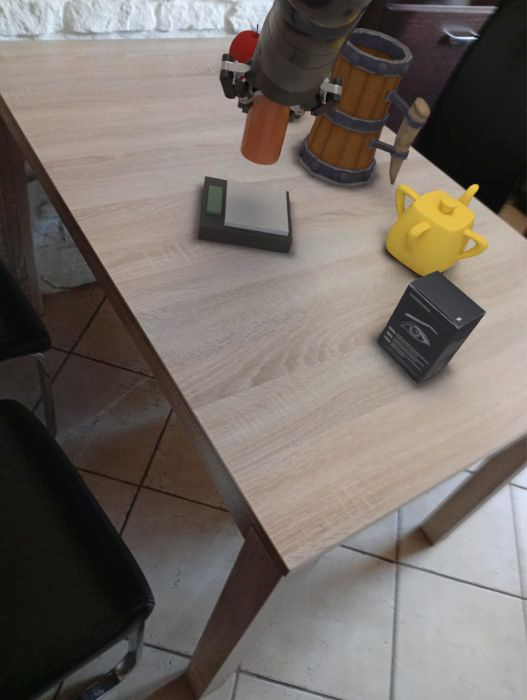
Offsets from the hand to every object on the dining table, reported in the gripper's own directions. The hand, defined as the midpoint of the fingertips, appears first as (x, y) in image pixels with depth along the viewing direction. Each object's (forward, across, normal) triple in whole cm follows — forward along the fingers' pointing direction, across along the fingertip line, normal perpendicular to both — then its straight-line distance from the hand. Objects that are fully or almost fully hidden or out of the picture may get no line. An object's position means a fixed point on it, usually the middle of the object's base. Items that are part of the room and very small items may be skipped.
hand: (267, 109), depth 67 cm
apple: (+43, 0, -20) cm, 47 cm away
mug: (+24, -18, -1) cm, 30 cm away
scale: (+10, 0, +13) cm, 16 cm away
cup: (+2, 0, +5) cm, 5 cm away
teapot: (+10, -28, +14) cm, 33 cm away
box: (-5, -22, +28) cm, 36 cm away
